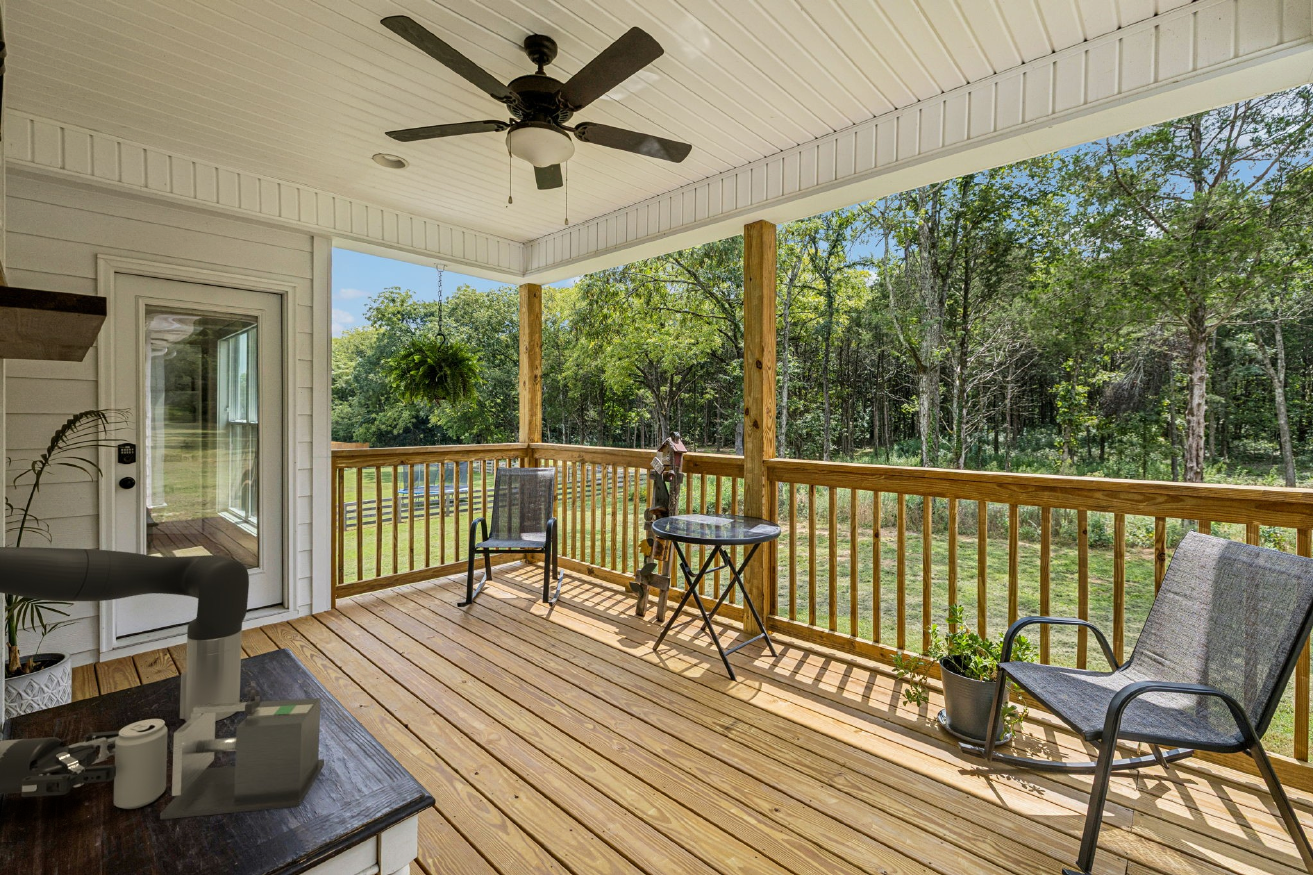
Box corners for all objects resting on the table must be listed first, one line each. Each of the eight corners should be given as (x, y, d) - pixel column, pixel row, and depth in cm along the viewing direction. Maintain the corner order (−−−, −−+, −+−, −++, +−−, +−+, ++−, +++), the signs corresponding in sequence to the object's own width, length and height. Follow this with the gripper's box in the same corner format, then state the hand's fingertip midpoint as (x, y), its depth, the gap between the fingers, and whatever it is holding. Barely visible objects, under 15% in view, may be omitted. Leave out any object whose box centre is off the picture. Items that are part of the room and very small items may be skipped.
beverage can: (134, 815, 91) (136, 739, 91) (102, 808, 92) (104, 733, 92) (175, 790, 97) (177, 719, 97) (145, 784, 98) (147, 714, 98)
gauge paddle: (171, 795, 91) (174, 721, 91) (206, 760, 101) (208, 693, 101) (236, 790, 93) (238, 717, 93) (264, 755, 103) (266, 690, 103)
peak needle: (244, 714, 96) (245, 694, 96) (253, 705, 99) (253, 687, 99) (251, 713, 97) (252, 694, 97) (259, 705, 99) (260, 686, 99)
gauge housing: (160, 819, 90) (162, 734, 90) (202, 774, 102) (204, 699, 102) (298, 806, 94) (301, 725, 94) (324, 764, 106) (326, 692, 106)
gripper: (-31, 768, 84) (102, 758, 87) (49, 719, 98) (160, 713, 101) (-32, 819, 84) (100, 808, 87) (48, 763, 98) (159, 755, 101)
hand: (132, 757), depth 94 cm, fingers open, 8 cm apart
